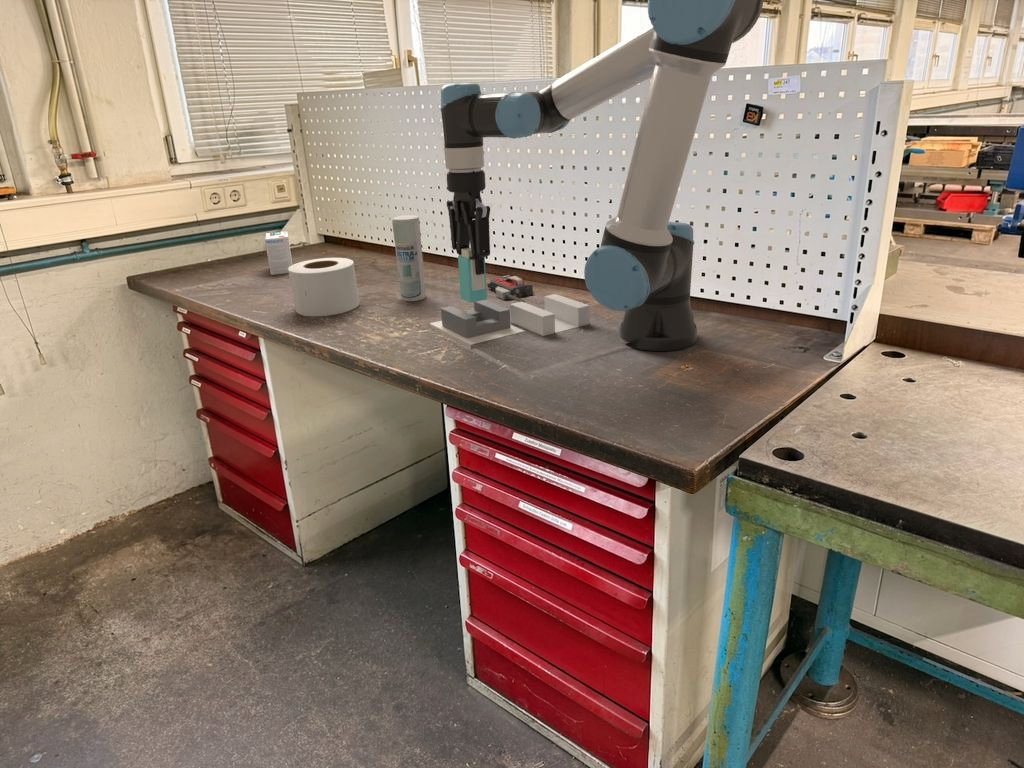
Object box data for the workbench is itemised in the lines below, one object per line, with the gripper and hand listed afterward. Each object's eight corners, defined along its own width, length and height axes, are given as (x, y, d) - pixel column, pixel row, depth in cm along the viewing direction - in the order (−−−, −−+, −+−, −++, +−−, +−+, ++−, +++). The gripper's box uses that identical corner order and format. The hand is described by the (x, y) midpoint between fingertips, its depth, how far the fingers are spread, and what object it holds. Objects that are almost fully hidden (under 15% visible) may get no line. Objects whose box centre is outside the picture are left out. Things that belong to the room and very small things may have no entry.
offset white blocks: (589, 328, 145) (589, 305, 144) (543, 340, 140) (542, 316, 138) (555, 315, 155) (555, 293, 153) (511, 326, 149) (509, 304, 147)
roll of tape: (311, 320, 160) (304, 275, 156) (285, 308, 171) (277, 265, 167) (370, 306, 169) (365, 263, 165) (342, 295, 180) (336, 254, 176)
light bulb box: (271, 267, 214) (264, 232, 210) (293, 265, 216) (287, 230, 212) (270, 275, 205) (264, 238, 201) (294, 272, 207) (287, 236, 203)
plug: (487, 299, 144) (484, 249, 140) (470, 302, 142) (467, 252, 138) (477, 295, 147) (474, 246, 143) (460, 298, 145) (457, 248, 141)
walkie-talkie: (480, 291, 179) (520, 308, 163) (479, 274, 177) (519, 290, 161) (509, 285, 183) (551, 302, 166) (508, 269, 181) (550, 284, 165)
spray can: (396, 301, 172) (387, 219, 164) (406, 294, 178) (398, 215, 170) (421, 301, 171) (413, 219, 163) (430, 294, 176) (422, 215, 169)
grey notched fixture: (525, 335, 143) (524, 312, 141) (471, 349, 137) (469, 325, 135) (481, 315, 157) (479, 294, 155) (430, 327, 151) (427, 305, 149)
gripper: (505, 170, 129) (510, 292, 138) (460, 165, 143) (468, 276, 152) (470, 174, 126) (478, 299, 135) (428, 168, 139) (437, 282, 148)
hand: (472, 286), depth 143 cm, fingers closed on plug, 4 cm apart
